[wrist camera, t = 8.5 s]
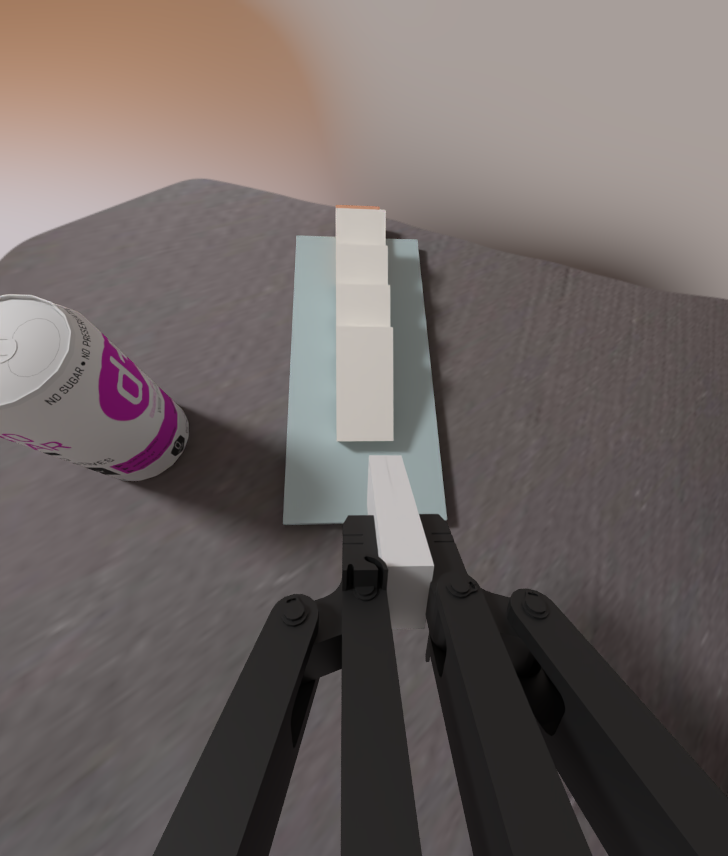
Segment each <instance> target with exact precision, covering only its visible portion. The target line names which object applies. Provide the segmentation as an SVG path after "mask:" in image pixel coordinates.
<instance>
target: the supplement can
mask: <svg viewBox="0 0 728 856" xmlns="http://www.w3.org/2000/svg"><path fill="white" fill-rule="evenodd" d="M0 437H1V438H4V439H7V440H10V441H12V442H15V443H18V444H21V445H24V446H26V447H29V448H32V449H35V450H38V451H40V452H43V453H46V454H49V455H52V456H55V457H57V458H60V459H63V460H66V461H69V462H71V463H74V464H77V465H80V466H83V467H85V468H88V469H91V470H94V471H97V472H100V473H102V474H105V475H108V476H111V477H114V478H116V479H119V480H122V481H141V480H145V479H148V478H151V477H154V476H157V475H159V474H160V473H162V472H163V471H165V470H166V469H168V468H169V467H171V466H172V465H173V464H174V463H175V461H176V460H177V459H178V458H179V456H180V455H181V454H182V453H183V451H184V448H185V446H186V443H187V440H188V438H189V422H188V420H187V418H186V416H185V413H184V411H183V409H181V408H180V407H179V406H178V405H177V404H176V403H175V402H174V401H173V400H172V399H171V398H170V397H169V396H168V395H167V394H166V393H165V392H164V391H162V390H161V389H160V388H159V387H158V386H157V385H156V384H155V383H154V382H153V381H152V380H151V379H150V378H149V377H148V376H147V375H146V374H145V373H143V372H142V371H141V370H140V369H139V368H138V367H137V366H136V365H135V364H134V363H133V362H132V361H131V360H130V359H129V358H128V357H127V356H125V355H124V354H123V353H122V352H121V351H120V350H119V349H118V348H117V347H116V346H115V345H114V344H113V343H112V342H111V341H110V340H109V339H108V338H106V337H105V336H104V335H103V334H102V333H101V332H100V331H99V330H98V329H97V328H96V327H95V326H94V325H93V324H92V323H90V322H89V321H88V320H87V319H86V318H85V317H84V316H83V315H82V314H80V313H79V312H77V311H74V310H72V309H69V308H66V307H63V306H61V305H58V304H54V303H52V302H50V301H47V300H44V299H41V298H39V297H36V296H33V295H18V294H7V295H2V296H0Z"/></svg>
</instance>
